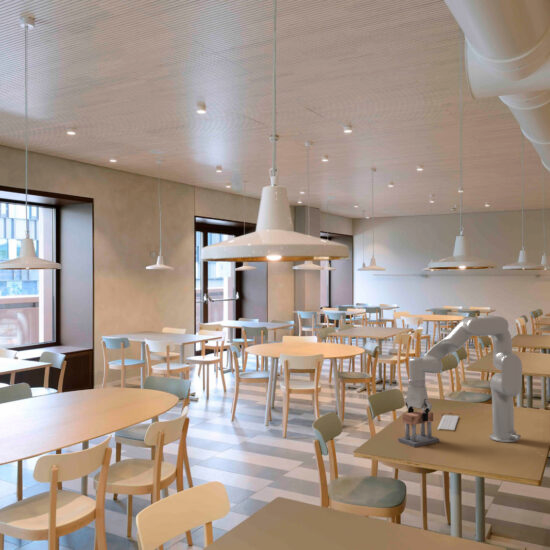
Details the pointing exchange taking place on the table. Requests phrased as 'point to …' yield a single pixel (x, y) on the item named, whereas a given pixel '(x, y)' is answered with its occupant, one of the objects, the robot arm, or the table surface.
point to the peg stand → (418, 436)
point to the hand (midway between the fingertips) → (418, 419)
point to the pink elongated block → (416, 418)
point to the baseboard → (448, 422)
